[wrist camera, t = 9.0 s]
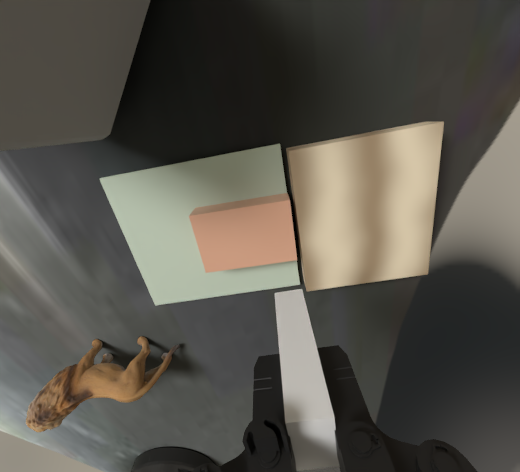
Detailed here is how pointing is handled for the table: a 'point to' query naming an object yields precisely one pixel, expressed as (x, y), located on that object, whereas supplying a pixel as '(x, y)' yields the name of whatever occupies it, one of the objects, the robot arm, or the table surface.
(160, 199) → the mat
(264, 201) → the block
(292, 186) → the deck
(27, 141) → the alarm clock
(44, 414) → the lion figurine
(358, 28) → the table surface
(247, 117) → the table surface
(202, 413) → the table surface
